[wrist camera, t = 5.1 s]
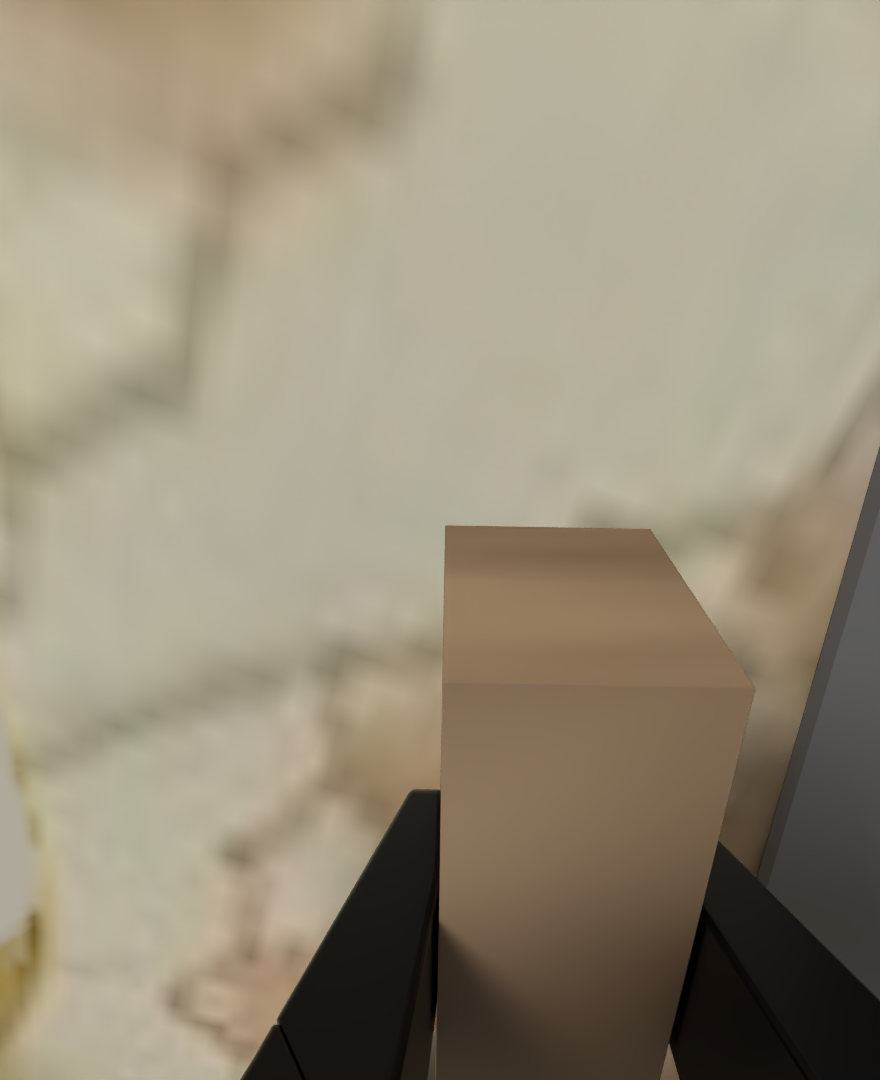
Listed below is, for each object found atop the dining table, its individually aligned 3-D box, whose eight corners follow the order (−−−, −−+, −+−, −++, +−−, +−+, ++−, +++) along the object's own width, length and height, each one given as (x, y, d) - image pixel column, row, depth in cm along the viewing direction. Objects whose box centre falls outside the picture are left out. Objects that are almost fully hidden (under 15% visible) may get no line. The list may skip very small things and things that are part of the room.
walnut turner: (616, 1157, 14) (659, 1395, 11) (372, 1151, 14) (353, 1388, 11) (752, 530, 8) (912, 692, 6) (342, 523, 9) (288, 680, 6)
